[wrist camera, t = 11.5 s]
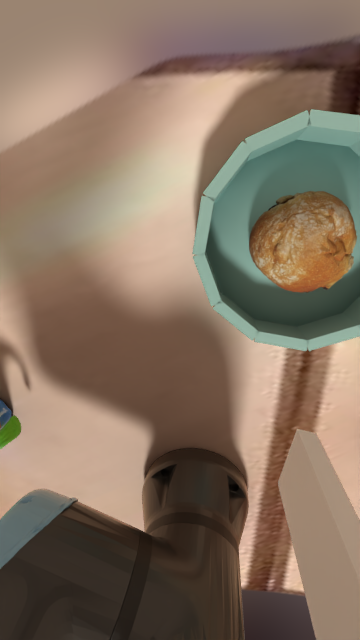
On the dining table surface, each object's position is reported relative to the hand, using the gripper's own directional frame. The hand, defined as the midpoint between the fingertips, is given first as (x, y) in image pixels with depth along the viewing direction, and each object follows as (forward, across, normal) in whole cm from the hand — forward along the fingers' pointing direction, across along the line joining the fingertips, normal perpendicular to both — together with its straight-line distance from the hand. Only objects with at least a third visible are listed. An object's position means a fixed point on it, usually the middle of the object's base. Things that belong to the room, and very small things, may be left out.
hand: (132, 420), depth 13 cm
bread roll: (+25, -11, -8) cm, 28 cm away
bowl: (+25, -10, -9) cm, 28 cm away
